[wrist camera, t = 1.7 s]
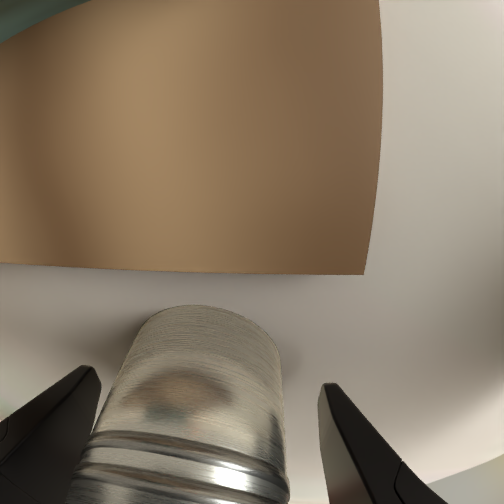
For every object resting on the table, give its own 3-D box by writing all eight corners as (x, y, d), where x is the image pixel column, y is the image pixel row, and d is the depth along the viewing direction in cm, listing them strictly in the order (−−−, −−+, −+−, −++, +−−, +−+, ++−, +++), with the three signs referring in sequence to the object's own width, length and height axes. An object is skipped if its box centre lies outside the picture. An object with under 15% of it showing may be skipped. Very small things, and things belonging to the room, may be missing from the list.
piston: (288, 305, 8) (311, 534, 3) (277, 409, 10) (280, 558, 5) (119, 298, 8) (18, 472, 3) (151, 401, 10) (112, 534, 5)
